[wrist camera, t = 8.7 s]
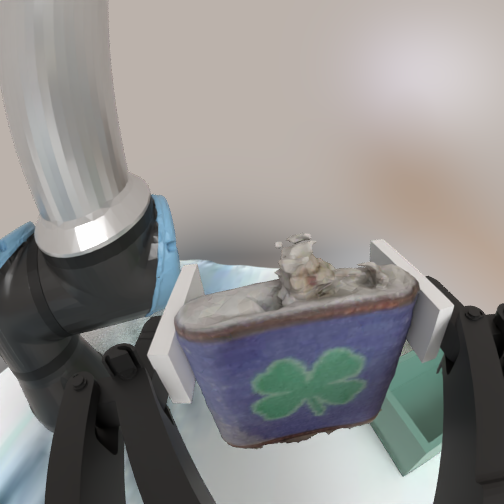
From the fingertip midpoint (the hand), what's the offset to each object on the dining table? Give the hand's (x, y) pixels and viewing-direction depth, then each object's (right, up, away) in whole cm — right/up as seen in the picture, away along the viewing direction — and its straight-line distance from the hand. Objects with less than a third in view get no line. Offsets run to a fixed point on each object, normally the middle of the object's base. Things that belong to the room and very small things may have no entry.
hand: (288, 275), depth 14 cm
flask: (+1, -8, -1) cm, 9 cm away
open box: (+17, -16, +6) cm, 24 cm away
